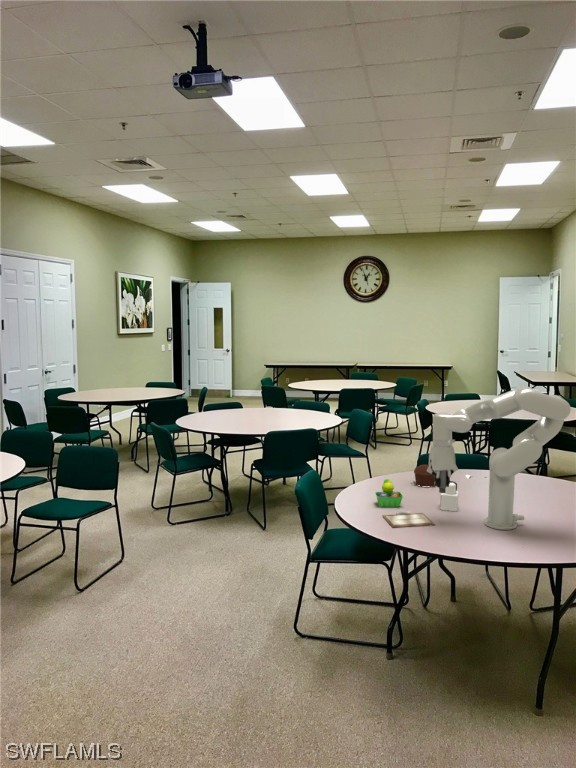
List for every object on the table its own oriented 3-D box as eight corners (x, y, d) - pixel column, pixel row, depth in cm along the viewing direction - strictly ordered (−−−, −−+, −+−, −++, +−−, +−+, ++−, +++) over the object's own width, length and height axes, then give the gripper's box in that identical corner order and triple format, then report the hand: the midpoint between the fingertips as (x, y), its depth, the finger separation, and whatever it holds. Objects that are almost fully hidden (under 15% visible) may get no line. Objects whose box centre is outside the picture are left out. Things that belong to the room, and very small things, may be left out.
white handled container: (441, 504, 255) (442, 479, 254) (458, 506, 253) (458, 480, 251) (440, 509, 248) (441, 483, 247) (457, 511, 246) (458, 485, 245)
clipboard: (422, 514, 243) (422, 510, 243) (435, 525, 230) (435, 521, 230) (382, 516, 240) (382, 513, 240) (392, 527, 228) (392, 524, 227)
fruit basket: (377, 508, 251) (377, 483, 250) (374, 501, 260) (374, 477, 259) (403, 508, 251) (403, 483, 250) (399, 501, 260) (399, 477, 259)
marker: (444, 490, 237) (444, 462, 235) (447, 493, 233) (448, 464, 232) (436, 491, 236) (436, 463, 235) (440, 493, 233) (440, 465, 231)
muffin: (411, 486, 283) (411, 467, 281) (415, 480, 293) (415, 461, 292) (435, 489, 278) (436, 469, 277) (438, 483, 288) (439, 463, 287)
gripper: (457, 439, 237) (457, 482, 239) (419, 442, 235) (420, 485, 237) (465, 443, 230) (465, 487, 232) (426, 446, 227) (427, 490, 230)
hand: (442, 485), depth 234 cm, fingers closed on marker, 3 cm apart
